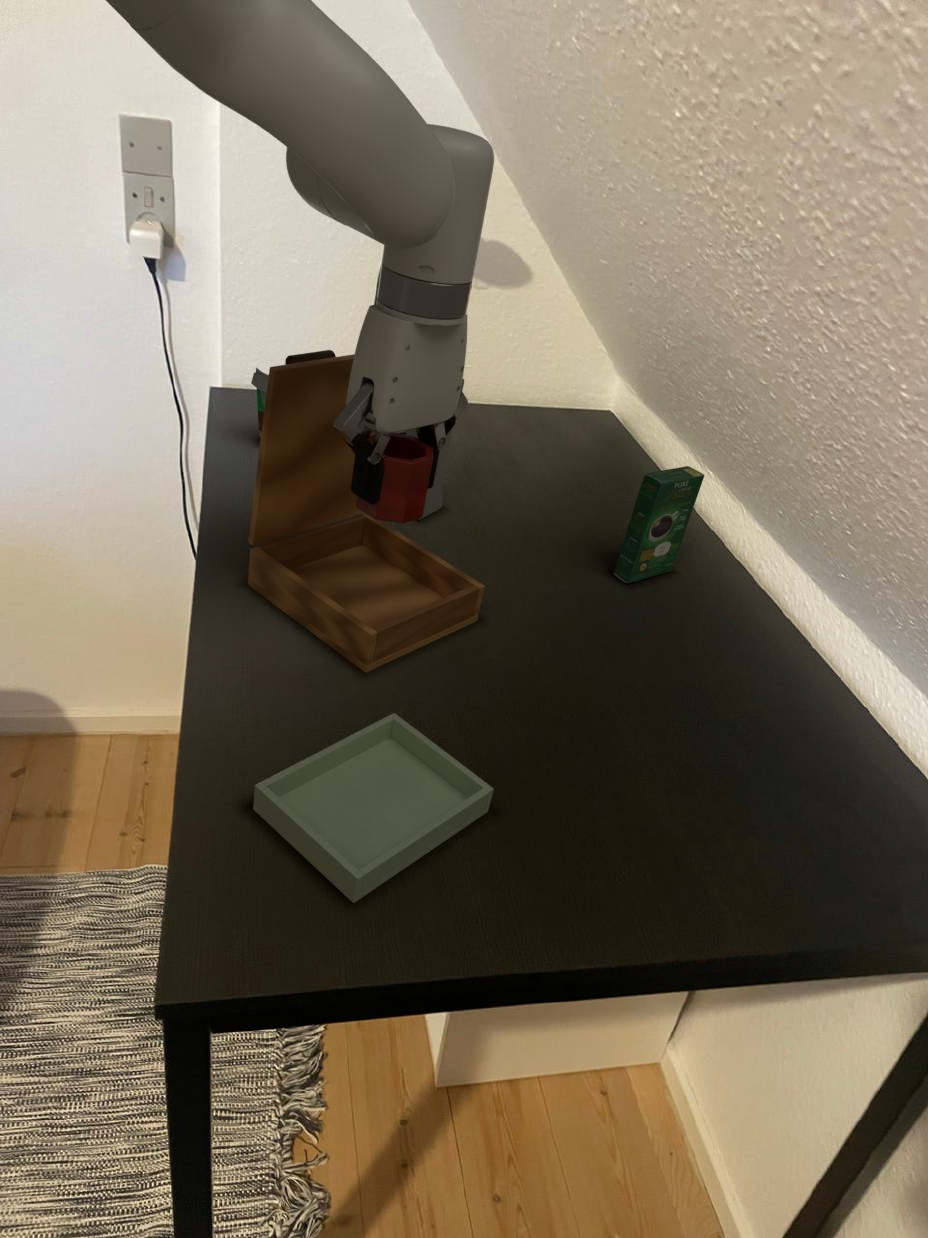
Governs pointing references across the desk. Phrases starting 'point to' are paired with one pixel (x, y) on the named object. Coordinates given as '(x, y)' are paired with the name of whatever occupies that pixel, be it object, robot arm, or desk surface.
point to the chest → (365, 589)
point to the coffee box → (658, 523)
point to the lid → (303, 448)
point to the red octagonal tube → (401, 480)
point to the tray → (371, 804)
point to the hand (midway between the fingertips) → (392, 488)
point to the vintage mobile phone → (435, 493)
